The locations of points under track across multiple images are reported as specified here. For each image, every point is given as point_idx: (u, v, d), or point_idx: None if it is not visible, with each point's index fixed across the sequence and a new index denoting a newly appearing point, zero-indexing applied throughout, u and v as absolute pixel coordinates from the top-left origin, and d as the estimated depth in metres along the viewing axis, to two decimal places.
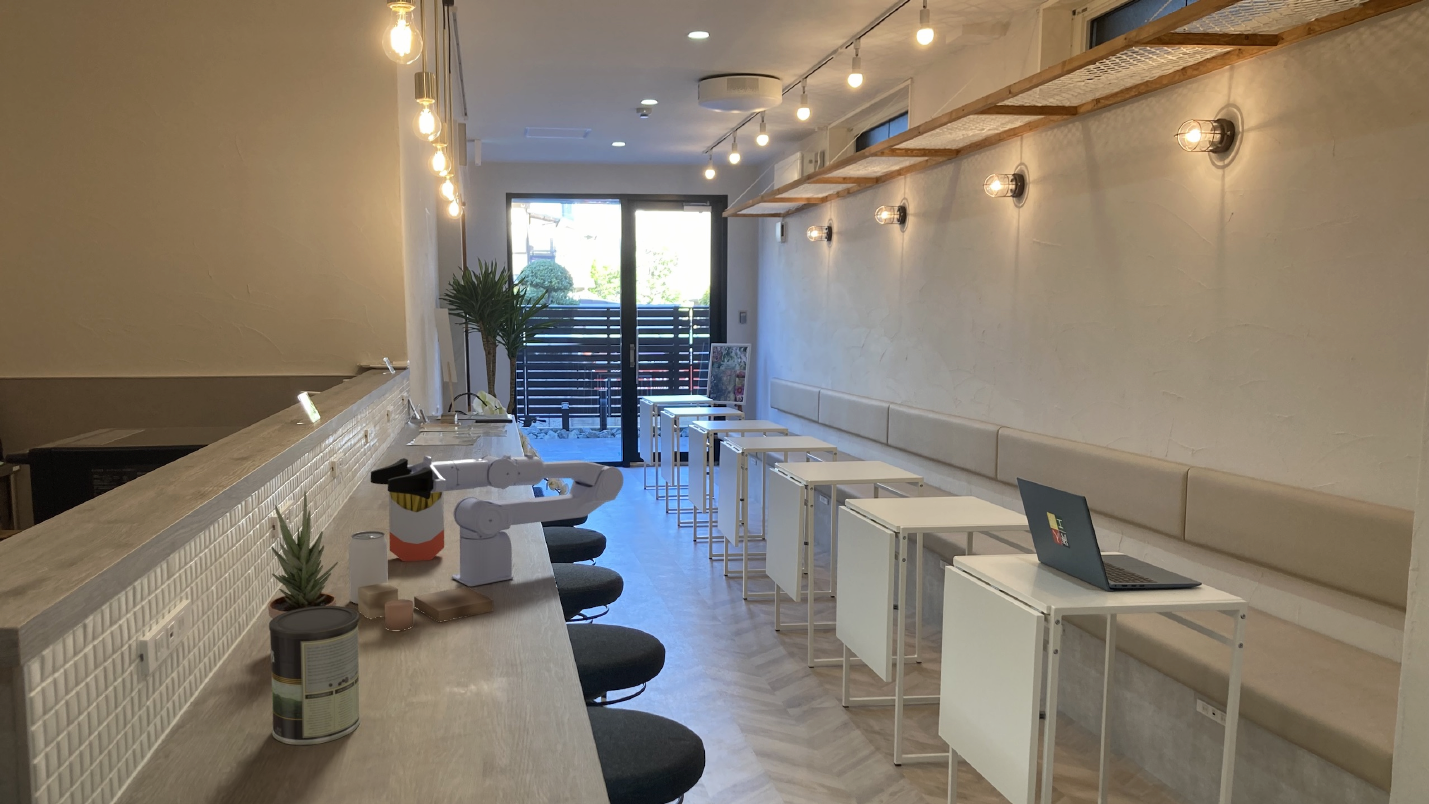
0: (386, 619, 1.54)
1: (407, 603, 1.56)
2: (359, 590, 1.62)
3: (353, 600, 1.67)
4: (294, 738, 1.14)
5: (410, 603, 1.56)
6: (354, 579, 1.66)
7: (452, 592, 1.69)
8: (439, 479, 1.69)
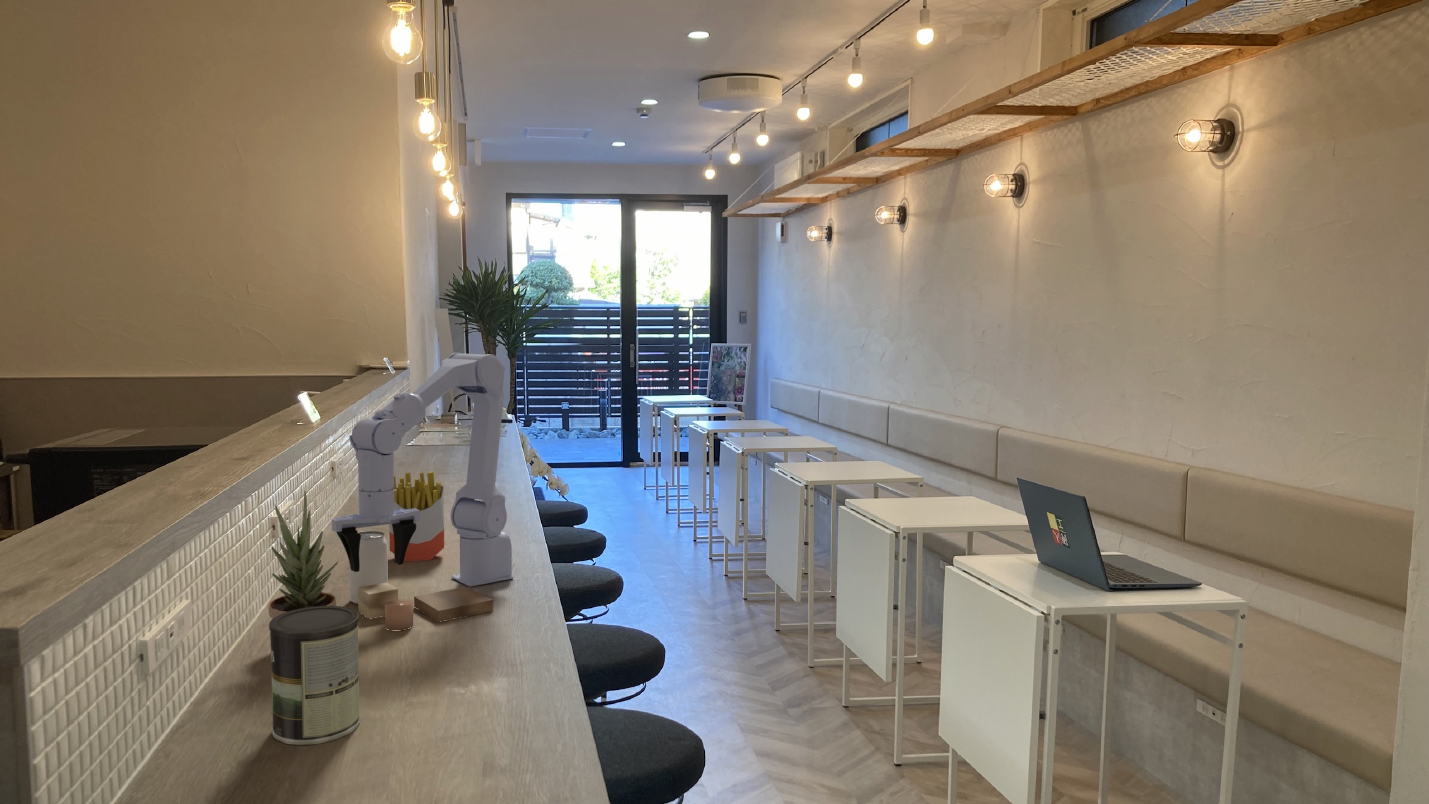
0: (386, 619, 1.54)
1: (407, 603, 1.56)
2: (359, 590, 1.62)
3: (353, 600, 1.67)
4: (294, 738, 1.14)
5: (410, 603, 1.56)
6: (354, 579, 1.66)
7: (452, 592, 1.69)
8: (416, 516, 1.65)
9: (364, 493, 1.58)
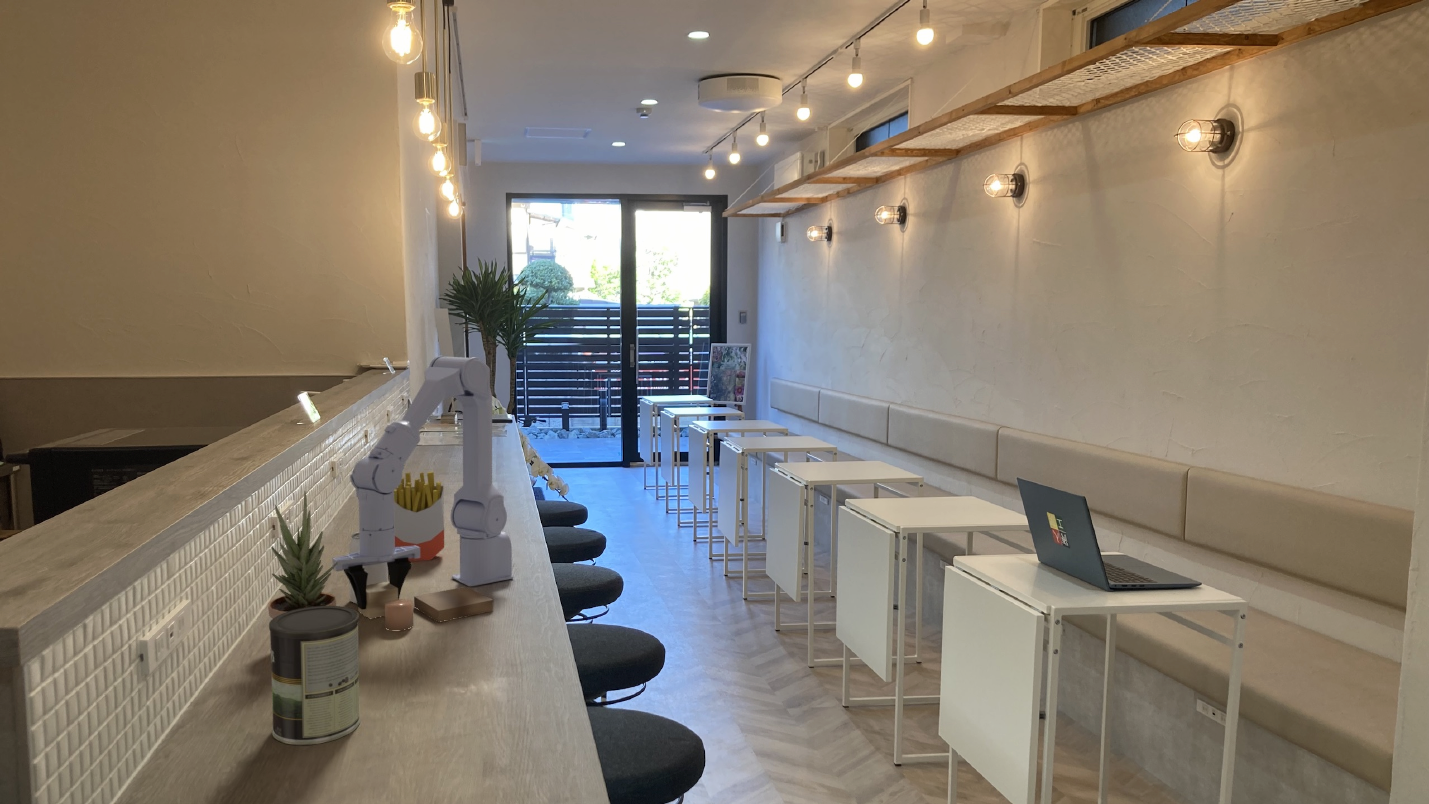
0: (386, 619, 1.54)
1: (407, 603, 1.56)
2: None
3: (353, 600, 1.67)
4: (294, 738, 1.14)
5: (410, 603, 1.56)
6: None
7: (452, 592, 1.69)
8: (417, 553, 1.65)
9: (365, 532, 1.59)
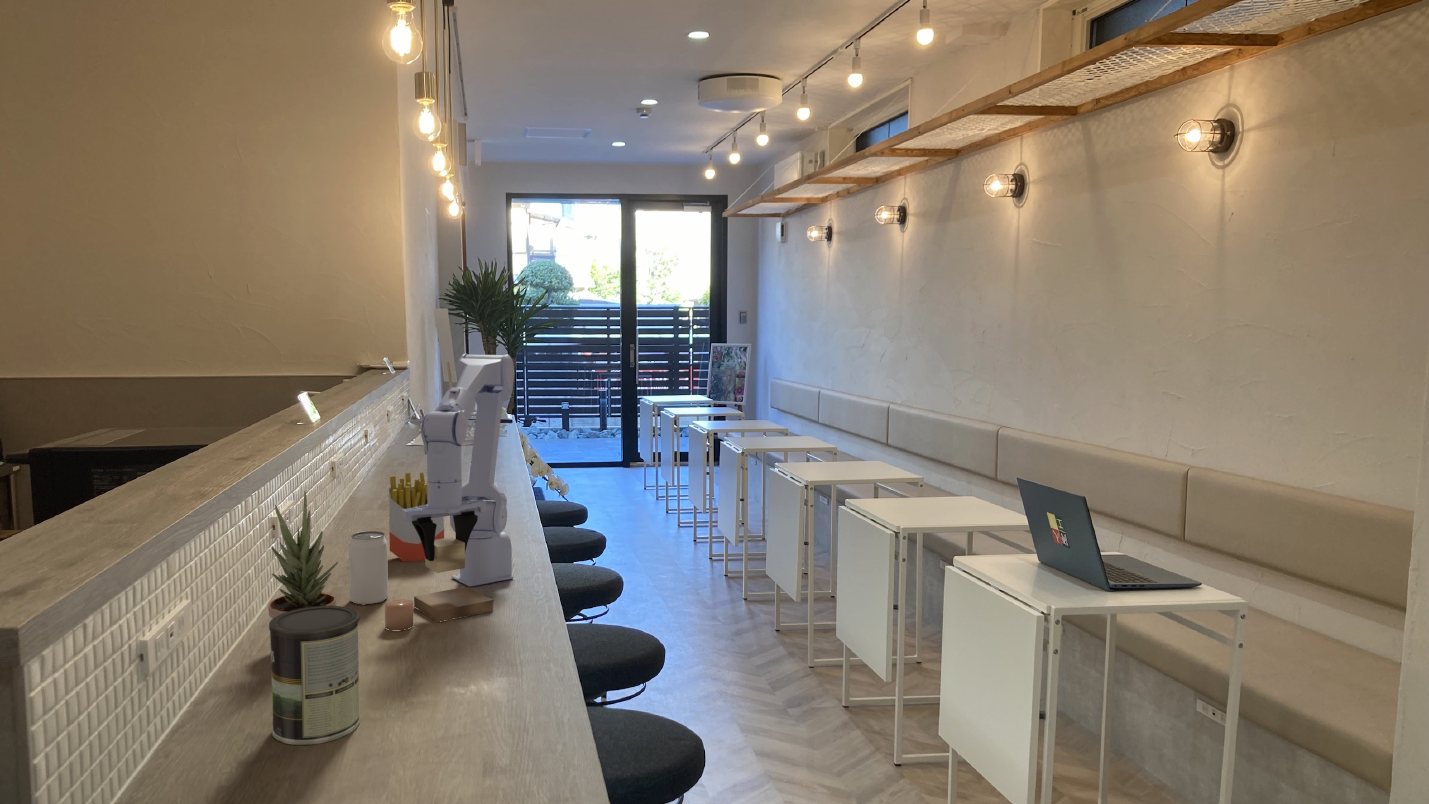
0: (386, 619, 1.54)
1: (407, 603, 1.56)
2: None
3: (353, 600, 1.67)
4: (294, 738, 1.13)
5: (410, 603, 1.56)
6: (354, 579, 1.66)
7: (452, 592, 1.69)
8: (482, 507, 1.67)
9: (433, 484, 1.60)
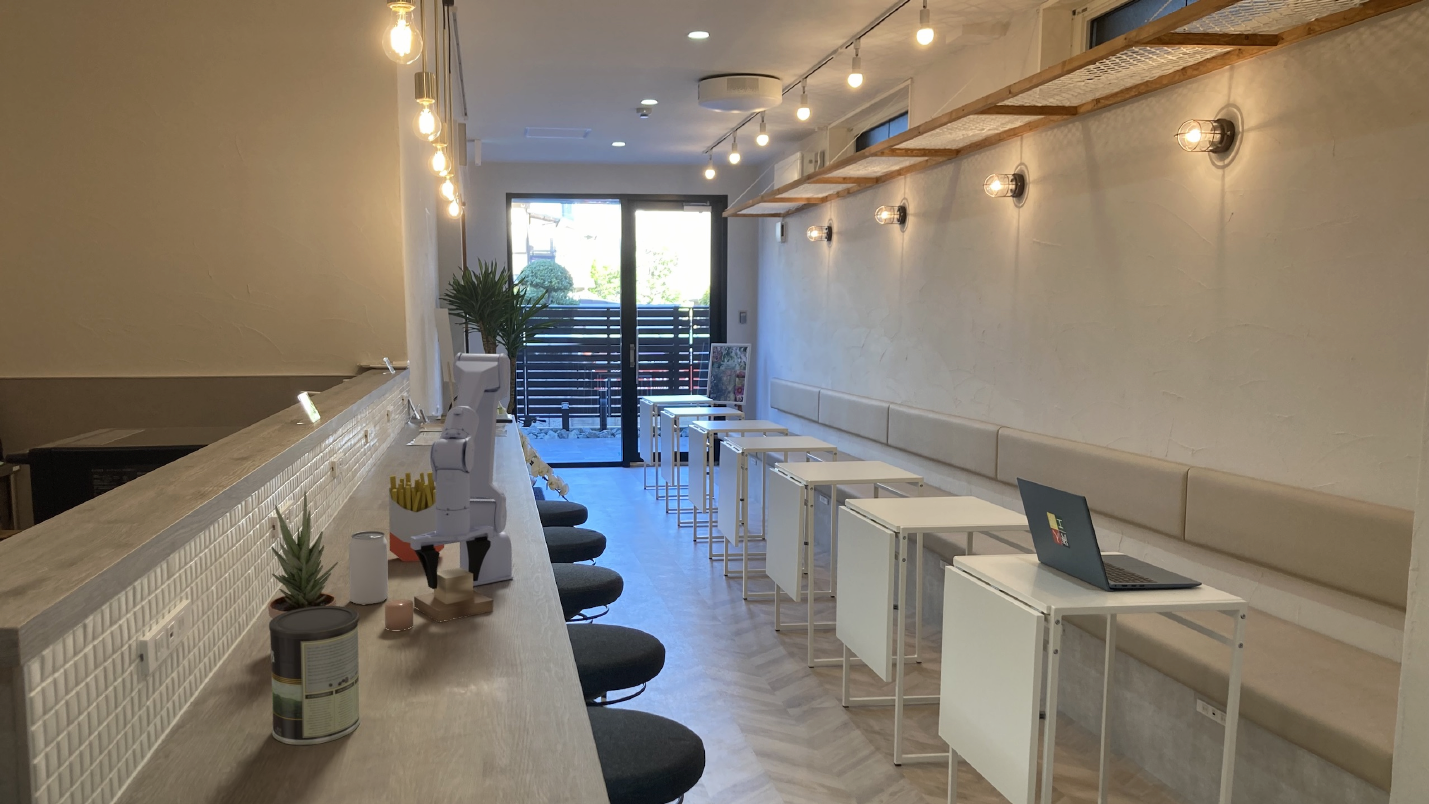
0: (386, 619, 1.54)
1: (407, 603, 1.56)
2: None
3: (353, 600, 1.67)
4: (294, 738, 1.14)
5: (410, 603, 1.56)
6: (354, 579, 1.66)
7: None
8: (490, 533, 1.68)
9: (442, 511, 1.61)
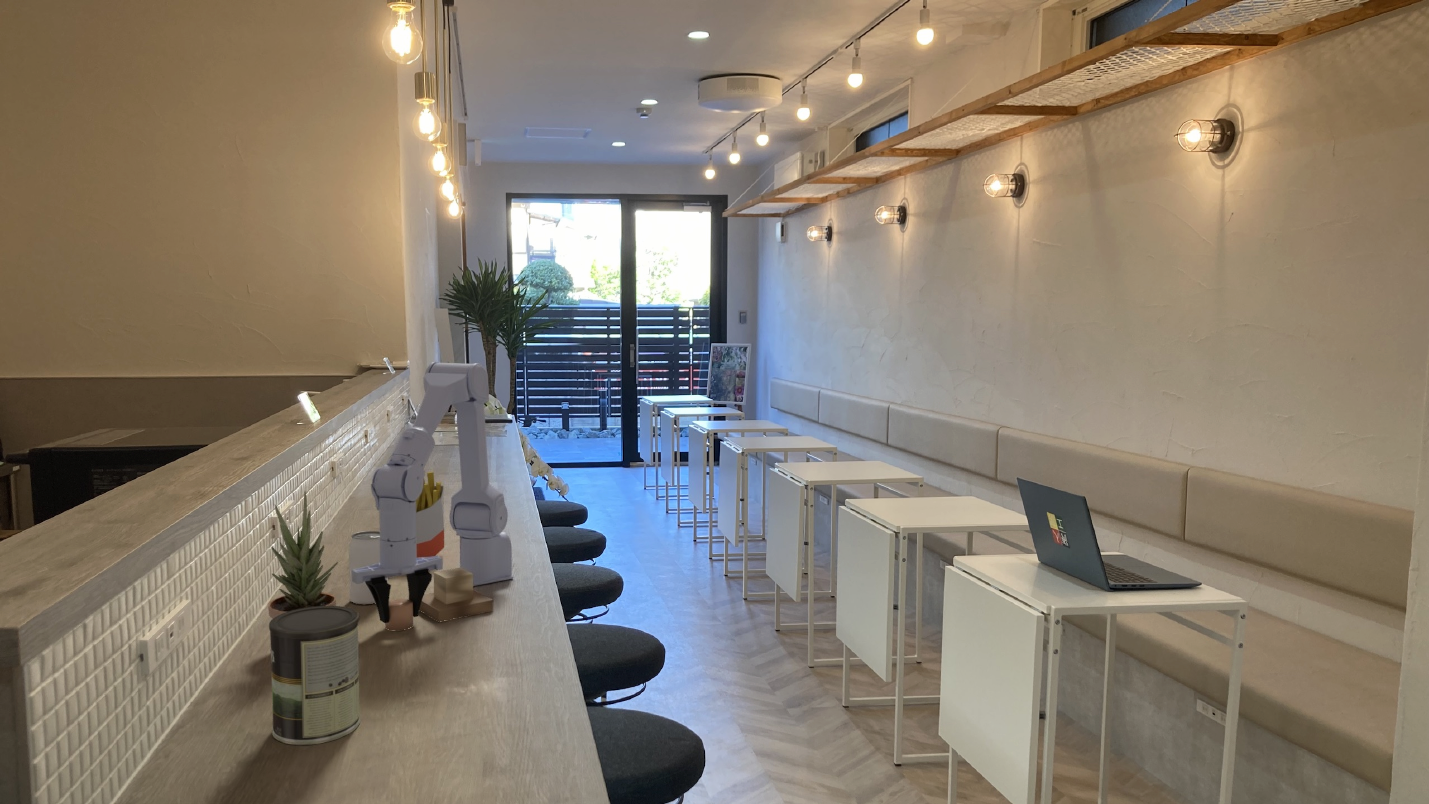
0: None
1: (407, 603, 1.56)
2: (435, 575, 1.65)
3: (353, 600, 1.67)
4: (294, 738, 1.14)
5: (410, 603, 1.56)
6: None
7: None
8: (439, 564, 1.59)
9: (386, 543, 1.52)
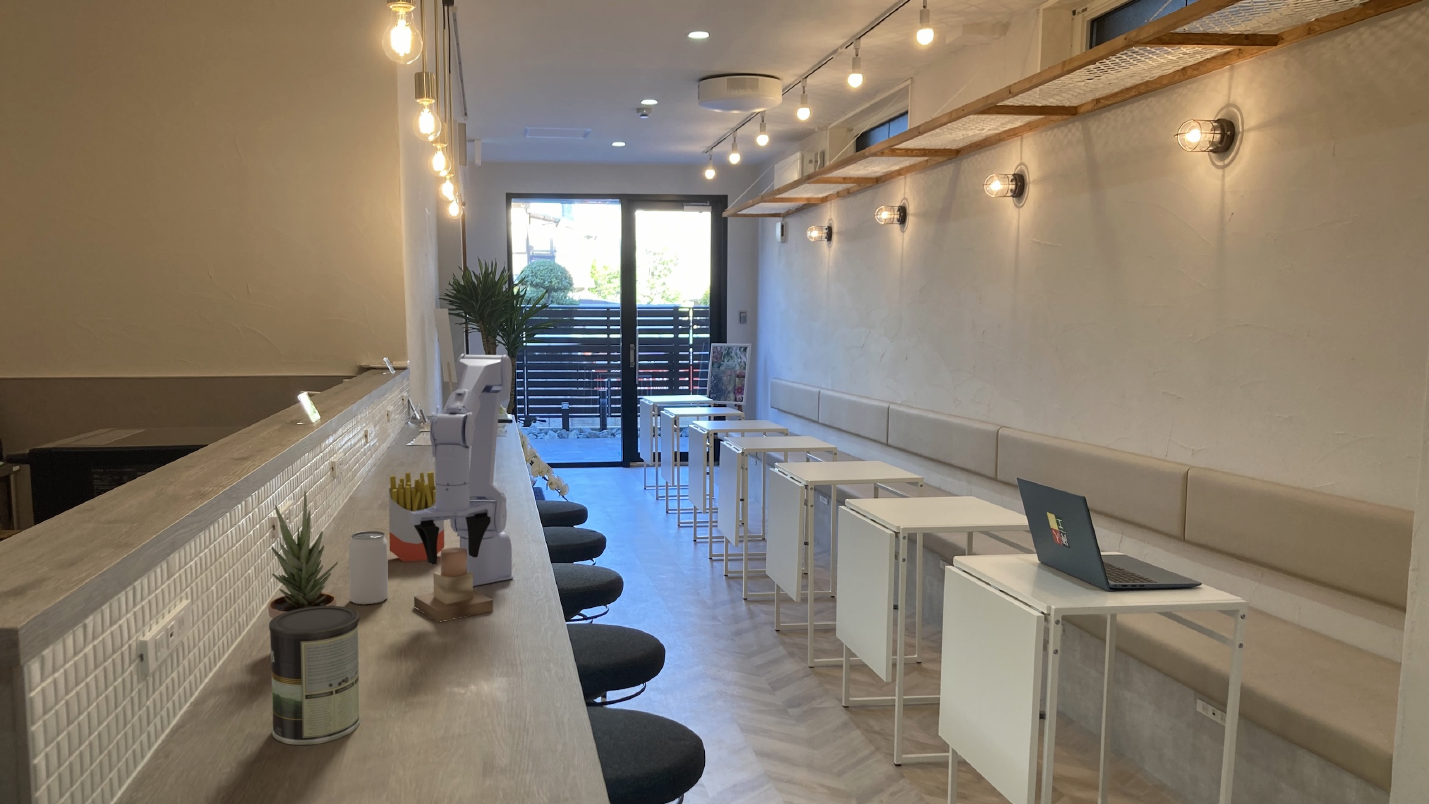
0: (442, 565, 1.63)
1: (461, 550, 1.65)
2: (435, 575, 1.65)
3: (353, 600, 1.67)
4: (294, 738, 1.14)
5: (464, 550, 1.65)
6: (354, 579, 1.66)
7: None
8: (490, 509, 1.67)
9: (442, 487, 1.61)
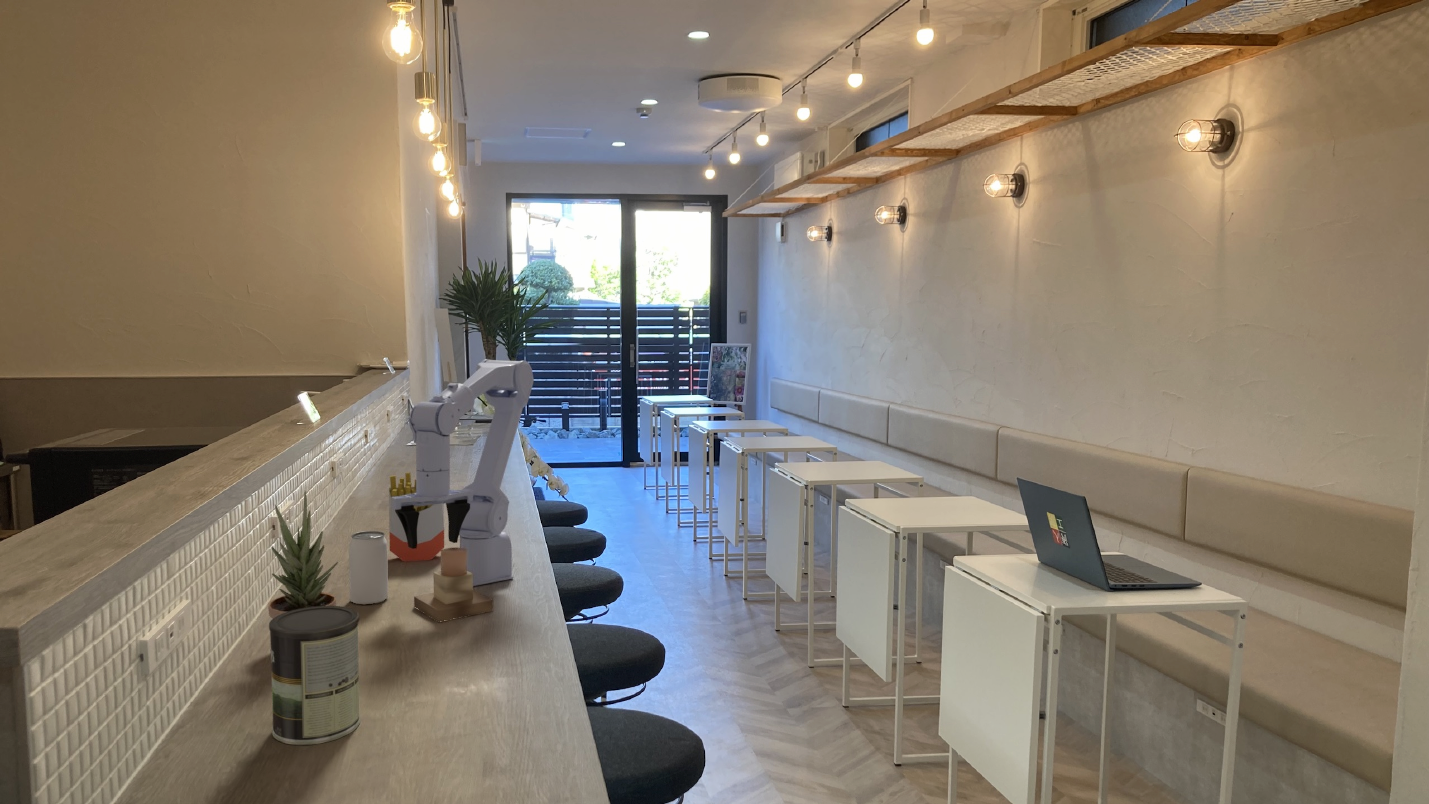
0: (442, 565, 1.63)
1: (461, 550, 1.65)
2: (435, 575, 1.65)
3: (353, 600, 1.67)
4: (294, 738, 1.13)
5: (464, 550, 1.65)
6: (354, 579, 1.66)
7: None
8: (470, 496, 1.72)
9: (422, 473, 1.65)
